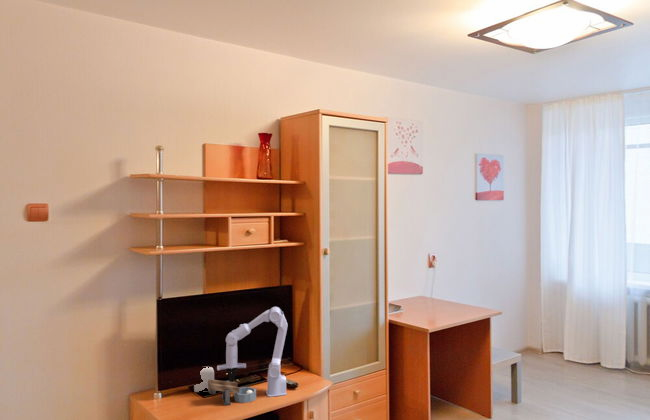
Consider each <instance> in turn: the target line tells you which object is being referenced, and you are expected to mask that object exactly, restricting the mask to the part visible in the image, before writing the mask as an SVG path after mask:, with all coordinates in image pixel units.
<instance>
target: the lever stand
mask: <svg viewBox="0 0 650 420" xmlns="http://www.w3.org/2000/svg"><path fill="white" fill-rule="evenodd" d="M230 398H231V392H230V389H225V392H224V391H222V395H221V399H222V402H223V405H224V406H231V405H232V402H231V399H230Z"/></svg>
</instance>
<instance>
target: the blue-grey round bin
mask: <svg viewBox="0 0 650 420" xmlns="http://www.w3.org/2000/svg"><path fill="white" fill-rule="evenodd" d="M247 390H252V393H249V394H246V391H247ZM233 399H234V401H235V403H239V404H241V403H242V404H246V403H251V402H254V401H255V400H257V389H256V387H252V386H241V387H240V389H239V393H233Z"/></svg>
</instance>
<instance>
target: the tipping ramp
mask: <svg viewBox="0 0 650 420" xmlns="http://www.w3.org/2000/svg"><path fill="white" fill-rule="evenodd" d="M240 388H241V387H239V386H238V382H236V381H235V380H234V382H229V380H228V379H227V380H220V379H219V380H218V379H214V380H210V379H209V380H208V391H207V392H208V393H209V394H212V395H216V392H217V391H218V392H223V391H224V392H225V389H230V393H233V394H234V393H239V389H240Z"/></svg>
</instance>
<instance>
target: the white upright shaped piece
mask: <svg viewBox="0 0 650 420" xmlns="http://www.w3.org/2000/svg"><path fill="white" fill-rule="evenodd" d="M205 367H206V368H203V369H202V370H201V371H200V375H201V379H202V380H203V382H201V383H200V384H196V385H194V384H193V390H194V393H200V392H199V391H202V390H204V389H205V388H207V389H208V380H209V379H210V380H215V370H214V368H213V367H212V366H205ZM208 367H209V368H208Z"/></svg>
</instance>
